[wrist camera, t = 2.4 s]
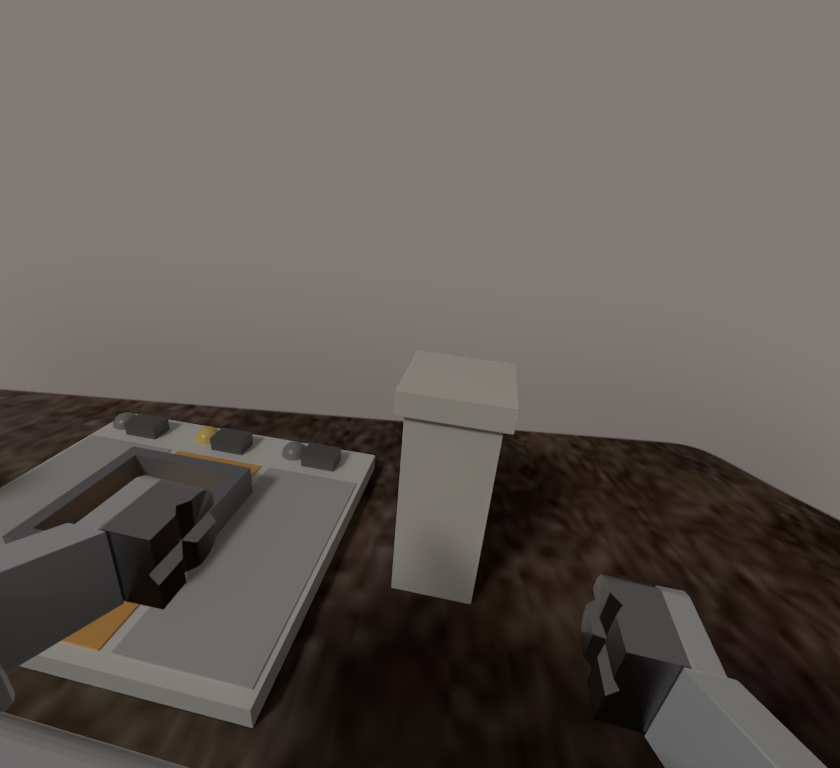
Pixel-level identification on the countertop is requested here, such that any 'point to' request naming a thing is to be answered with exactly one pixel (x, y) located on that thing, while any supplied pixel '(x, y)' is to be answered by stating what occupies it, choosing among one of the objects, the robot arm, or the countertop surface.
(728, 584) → the countertop surface
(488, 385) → the plug
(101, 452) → the board
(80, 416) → the countertop surface
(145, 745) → the countertop surface
